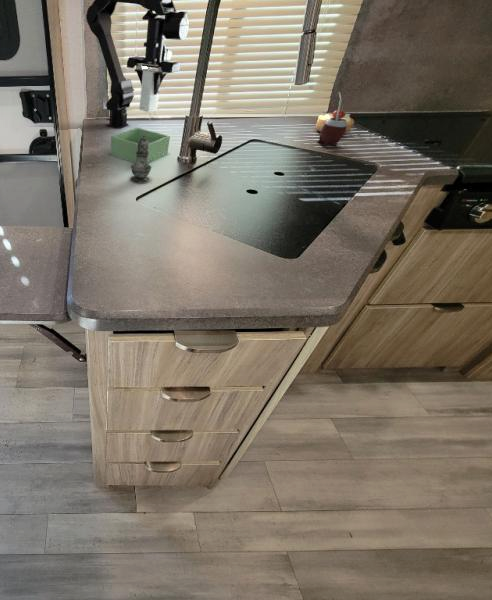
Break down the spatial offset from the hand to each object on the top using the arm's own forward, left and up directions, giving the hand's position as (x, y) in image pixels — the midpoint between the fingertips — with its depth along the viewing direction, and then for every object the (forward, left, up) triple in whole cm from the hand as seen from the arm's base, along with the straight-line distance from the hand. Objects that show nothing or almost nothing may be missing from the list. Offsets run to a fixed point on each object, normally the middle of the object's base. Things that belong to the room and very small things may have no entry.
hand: (150, 93), depth 118 cm
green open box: (+13, -21, -13) cm, 28 cm away
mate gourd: (+55, +33, -13) cm, 65 cm away
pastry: (+52, +49, -13) cm, 73 cm away
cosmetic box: (0, 0, -5) cm, 5 cm away
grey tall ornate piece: (+26, -37, -13) cm, 47 cm away
